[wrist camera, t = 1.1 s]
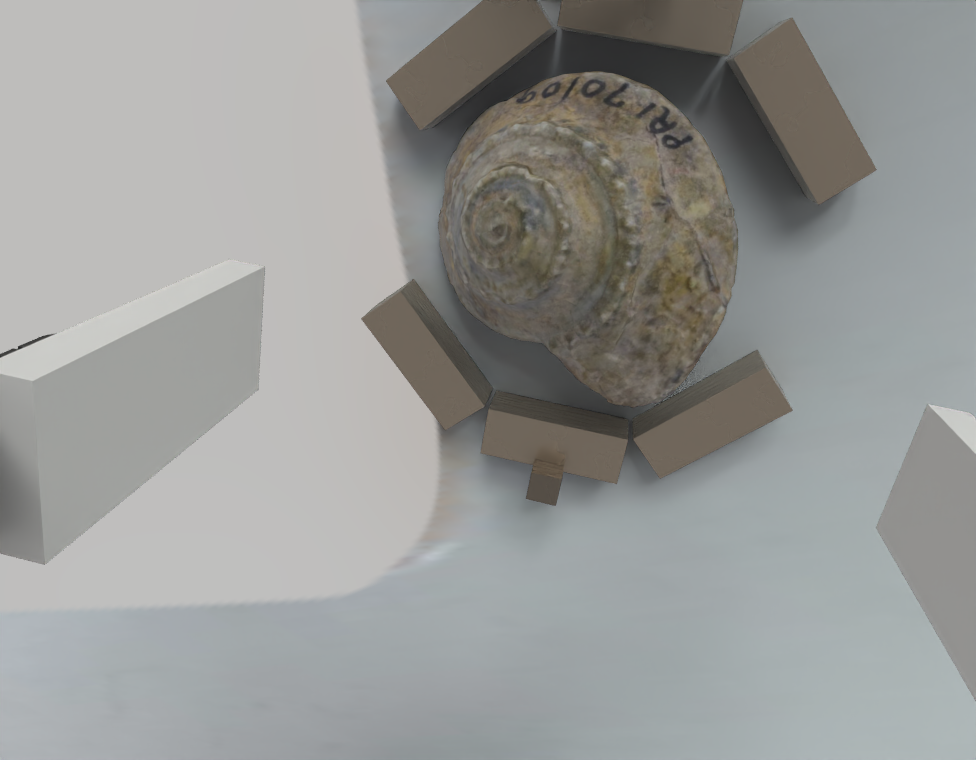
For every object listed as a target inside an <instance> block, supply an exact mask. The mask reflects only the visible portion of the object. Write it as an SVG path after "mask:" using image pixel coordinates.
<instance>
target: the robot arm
mask: <svg viewBox="0 0 976 760" xmlns="http://www.w3.org/2000/svg"><path fill="white" fill-rule="evenodd" d="M264 276H265V266H260V265H255V264H250V263H245V262H241V261H236V260H231V259H229V260H226V261H224V262H222V263H219V264H217V265H215V266H212V267H210V268H208V269H206V270H203V271H201V272H198V273H197V274H194V275H192V276H189V277H187V278H185V279H182V280H180V281H178V282H175V283H173V284H171V285H168V286H166V287H164V288H161V289H159V290H157V291H154V292H152V293H150V294H147V295H145V296H143V297H140V298H138V299H136V300H133V301H131V302H129V303H126V304H124V305H122V306H119V307H117V308H115V309H113V310H110V311H108V312H105V313H103V314H101V315H98V316H96V317H94V318H92V319H89V320H87V321H84V322H82V323H80V324H78V325H75V326H73V327H71V328H68V329H66V330H64V331H61V332H59V333H56V334H51V335H46V336H42V337H39V338H37V339H35V340H32V341H30V342H28V343H25V344H23V345H21V346H18V349H11V350H9V351H7V352H4V353H2V354H0V553H1V554H4V555H8V556H12V557H16V558H20V559H24V560H28V561H32V562H36V563H40V564H44V565H45V564H47V563H48V562H49V561H50V560H51V559H53V558H54V557H55V556H56V555H57V554H59V553H60V552H61V551H62V550H64V549H65V548H66V547H67V546H68V545H70V544H71V543H72V542H73V541H74V540H76V539H77V538H78V537H79V536H81V535H82V534H83V533H84V532H85V531H87V530H88V529H89V528H90V527H92V526H93V525H94V524H95V523H96V522H98V521H99V520H100V519H101V518H102V517H104V516H105V515H106V514H107V513H109V512H110V511H111V510H112V509H114V508H115V507H116V506H117V505H118V504H120V503H121V502H122V501H123V500H124V499H126V498H127V497H128V496H129V495H131V494H132V493H133V492H134V491H135V490H137V489H138V488H139V487H140V486H142V485H143V484H144V483H145V482H146V481H148V480H149V479H150V478H151V477H152V476H154V475H155V474H156V473H157V472H159V471H160V470H161V469H162V468H163V467H165V466H166V465H167V464H168V463H169V462H171V461H172V460H173V459H174V458H176V457H177V456H178V455H179V454H181V453H182V452H183V451H184V450H185V449H187V448H188V447H189V446H190V445H192V444H193V443H194V442H195V441H196V440H198V439H199V438H200V437H201V436H202V435H204V434H205V433H206V432H207V431H209V430H210V429H211V428H212V427H213V426H215V425H216V424H217V423H218V422H220V421H221V420H222V419H223V418H224V417H226V416H227V415H228V414H229V413H231V412H232V411H233V410H234V409H235V408H237V407H238V406H239V405H240V404H241V403H243V402H244V401H245V400H246V399H247V398H249V397H250V396H251V395H252V394H253V393H255V392H256V391H257V390H258V386H259V368H260V348H261V331H262V313H263V294H264ZM876 529H877V530H878V532H879V534H880V536H881V537H882V539H883V541H884V543H885V544H886V546H887V548H888V550H889V551H890V553H891V555H892V557H893V558H894V560H895V562H896V563H897V565H898V567H899V569H900V570H901V572H902V574H903V576H904V577H905V579H906V581H907V583H908V584H909V586H910V588H911V590H912V591H913V593H914V595H915V597H916V598H917V600H918V602H919V603H920V605H921V607H922V609H923V610H924V612H925V614H926V616H927V617H928V619H929V621H930V623H931V624H932V626H933V628H934V630H935V631H936V633H937V635H938V636H939V638H940V640H941V642H942V643H943V645H944V647H945V649H946V650H947V652H948V654H949V656H950V657H951V659H952V661H953V663H954V664H955V666H956V668H957V670H958V671H959V673H960V675H961V676H962V678H963V680H964V682H965V683H966V685H967V687H968V689H969V690H970V692H971V694H972V696H973V697H974V699H975V701H976V418H975V417H974V416H973V415H972V414H970V413H968V412H964V411H959V410H954V409H949V408H944V407H940V406H935V405H930V404H927V407H926V409H925V411H924V414H923V416H922V419H921V421H920V423H919V426H918V428H917V430H916V433H915V435H914V438H913V440H912V442H911V445H910V447H909V450H908V452H907V454H906V457H905V459H904V462H903V464H902V466H901V469H900V471H899V474H898V476H897V478H896V481H895V483H894V486H893V488H892V490H891V493H890V495H889V498H888V500H887V502H886V505H885V507H884V510H883V512H882V514H881V517H880V519H879V521H878V524H877V526H876Z"/></svg>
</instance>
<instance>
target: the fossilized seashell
mask: <svg viewBox="0 0 976 760" xmlns="http://www.w3.org/2000/svg"><path fill="white" fill-rule="evenodd" d="M440 211H441V212H440V214H439V218H440V219H439V222H438V229H439V234H440V248H441V252H442V255H443V259H444V264H445V266H446V269H447V274H448V278H449V281H450V284H452V285H453V287H454V289H455V291H456V293H457V295H458V297H459V300H460V302H461V303H462V304H463V305H464V307H465V308H466V309H467V310H468V311H469V313H471V314H472V315H473V316H474V317H475V318H477V319H478V320H480V321H481V322H482V323H484V324H485V325H486V326H487V327H489V328H491V329H492V330H494V331H495V332H497V333H500V334H502V335H505V336H507V337H509V338H512V339H518V340H520V341H531V342H536V343H543V344H544V345H545V346H546V347H547V349H548V350H549V351H550V352H551V353H552V354H554V355H555V356H556V357H557V358H558V359H559V360H560V361H561V362H562V363H563V364H564V365H565V367H566V368H567V369H568V370H569V371H570V372H571V373H572V374H573V375H574V376H575V377H576V379H578V380H579V381H580V382H581V383H583V384H585V385H587V386H588V387H589V388H590V389H591V390H594V391H595V392H596V393H599V394H601V395H602V396H603V397H604V398H606V399H607V402H609V403H612V404H614V405H622V406H630V407H632V408H634V407H637V406H645V405H648V404H650V403H657V402H661V401H662V400H663V399H665V398H666V397H667V395H670V394H673V393H674V391H675V390H676V388H678V387H679V386H680V385H681V384H682V383H683V382H684V381H685V379H686V378H687V376H688V375H689V373H690V372H691V371H692V369H693V368H694V366H695V365H696V363H697V362H698V360H699V358H700V356H701V354H702V353H703V352H704V350H705V349H706V347H707V346H708V344H709V343H710V341H711V340H712V339H713V337H714V336H715V335H716V333H717V331H718V329H719V327H720V325H721V323H722V321H723V319H724V316H725V313H726V309H727V304H728V302H729V300H730V298H731V288H732V287H733V285H734V283H735V275H736V268H737V255H738V229H737V225H736V222H735V219H734V208H733V206H732V204H731V202H730V199H729V197H728V193H727V189H726V185H725V181H724V178H723V175H722V172H721V170H720V168H719V166H718V164H717V162H716V160H715V158H714V156H713V154H712V152H711V150H710V148H709V146H708V145H707V143H706V141H705V139H704V138H703V136H702V135H701V134H700V133H699V132H698V130H696V129H695V128H694V127H693V126H692V124H691V123H690V121H689V120H688V118H687V117H686V116H685V115H684V114H683V113H682V112H681V111H680V110H679V109H678V108H676V107H675V106H674V105H673V104H672V103H671V102H670V101H669V100H668V99H667V98H665V97H664V96H663V95H662V94H661V93H660V92H658V91H657V90H655V89H653V88H652V87H650V86H648V85H646V84H643V83H640V82H637V81H634V80H632V79H629V78H627V77H624V76H621V75H617V74H614V73H606V72H601V71H593V72H583V73H572V74H563V75H560V76H556V77H553V78H549V79H545V80H542V81H541V82H539V83H538V84H536V85H534V86H532V87H530V88H528V89H526V90H524V91H522V92H520V93H518V94H516V95H515V96H513V97H512V98H510V99H509V100H507V101H504V102H499V103H497V104H496V105H494V106H492V107H490V108H488V109H486V110H485V111H484V112H483V113H482V114H481V115H480V116H479V117H478V118H477V119H476V120H475V121H474V122H473V124H472V125H471V126H469V127H468V129H467V130H466V132H465V133H464V135H463V136H462V138H461V140H460V142H459V144H458V147H457V149H456V151H454V152H453V154H452V156H451V158H450V160H449V163H448V165H447V168H446V174H445V193H444V196H443V207H442V209H441V210H440Z"/></svg>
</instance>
